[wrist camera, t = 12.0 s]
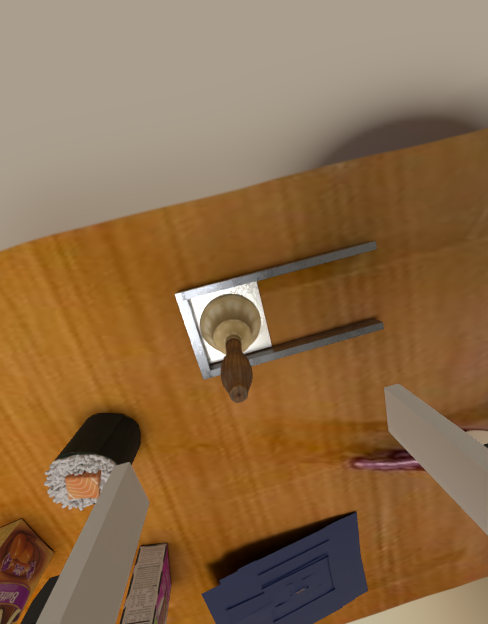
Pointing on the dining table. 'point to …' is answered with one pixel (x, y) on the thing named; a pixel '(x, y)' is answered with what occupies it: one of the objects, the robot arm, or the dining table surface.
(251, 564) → the navy serving tray
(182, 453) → the dining table surface
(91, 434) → the sushi
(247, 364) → the hand bell
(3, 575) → the candy box
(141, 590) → the candy bar box
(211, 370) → the guide channel
